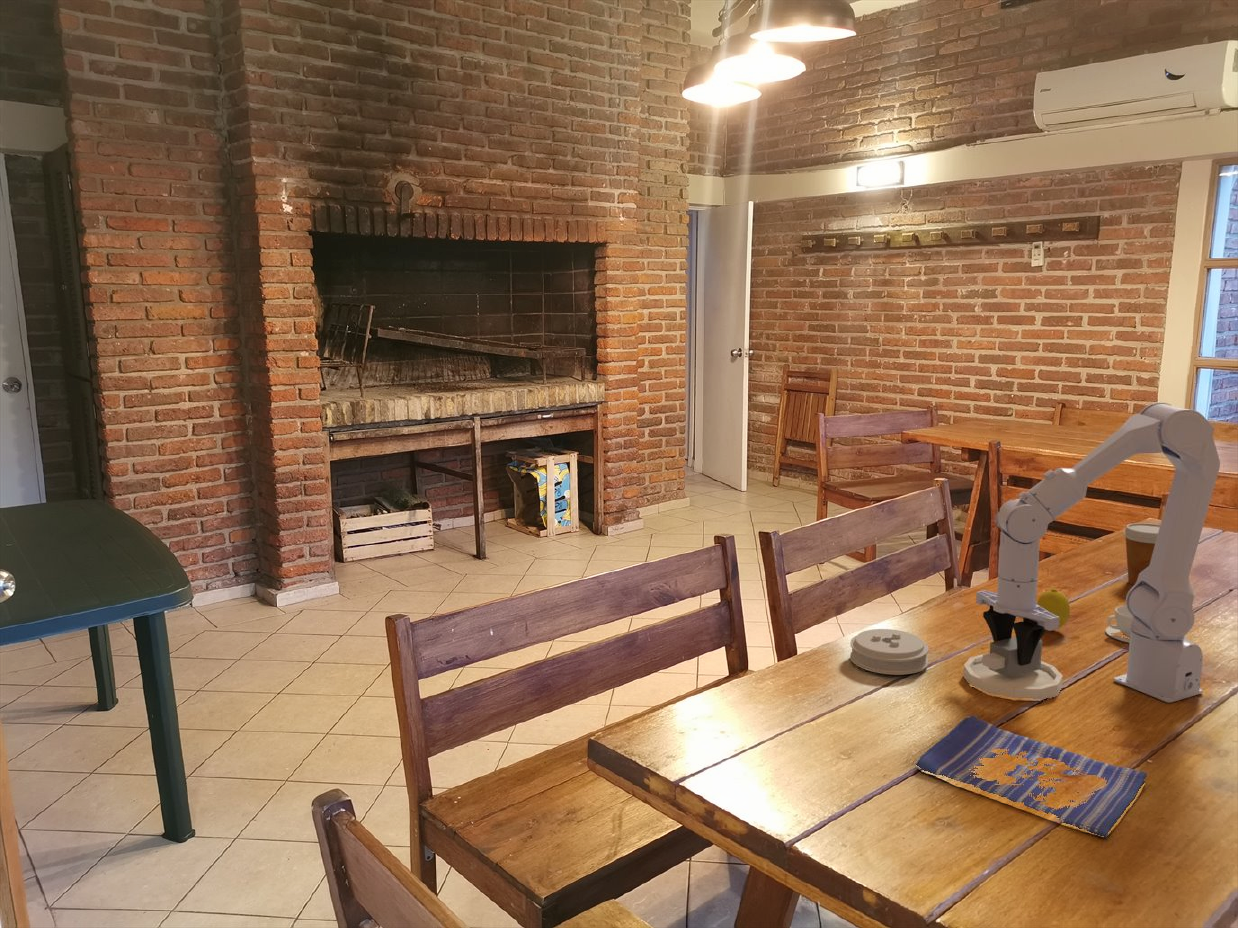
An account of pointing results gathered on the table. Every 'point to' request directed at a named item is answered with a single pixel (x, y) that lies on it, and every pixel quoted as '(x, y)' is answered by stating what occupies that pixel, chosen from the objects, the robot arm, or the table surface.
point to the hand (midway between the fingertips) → (1013, 659)
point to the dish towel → (1033, 773)
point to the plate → (1014, 680)
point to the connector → (1010, 658)
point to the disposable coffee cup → (1139, 547)
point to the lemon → (1055, 605)
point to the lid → (889, 652)
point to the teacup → (1120, 623)
